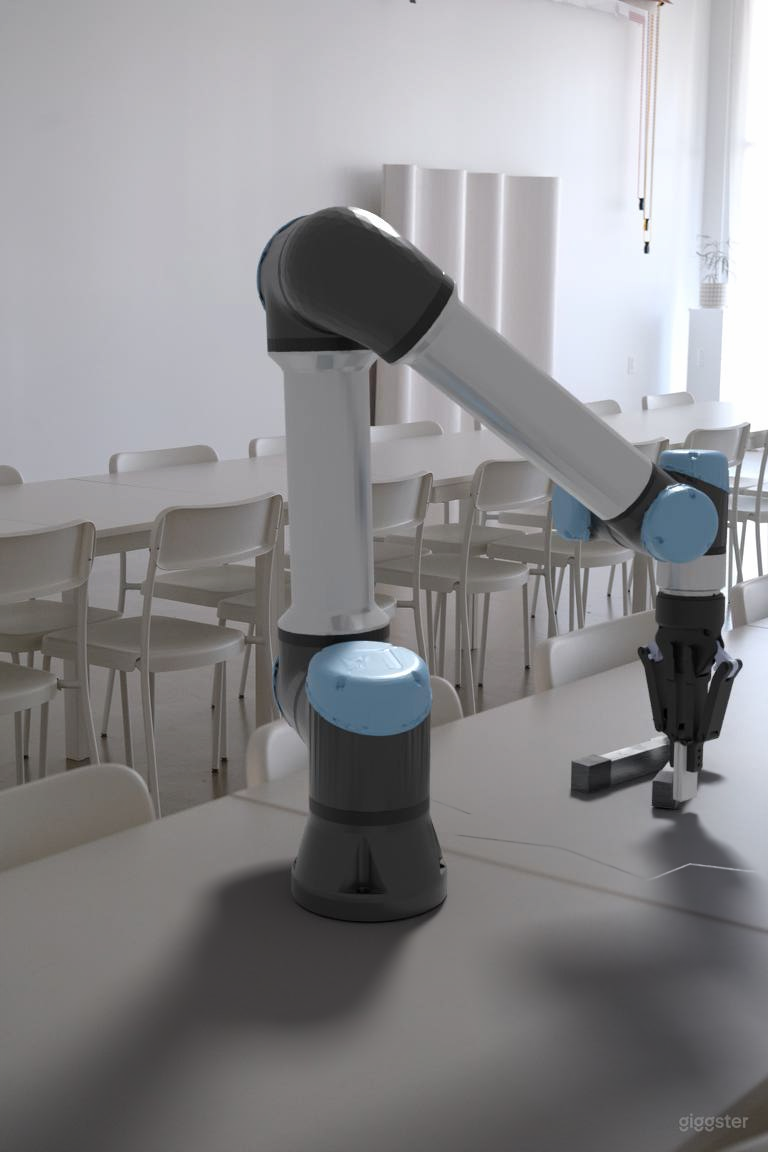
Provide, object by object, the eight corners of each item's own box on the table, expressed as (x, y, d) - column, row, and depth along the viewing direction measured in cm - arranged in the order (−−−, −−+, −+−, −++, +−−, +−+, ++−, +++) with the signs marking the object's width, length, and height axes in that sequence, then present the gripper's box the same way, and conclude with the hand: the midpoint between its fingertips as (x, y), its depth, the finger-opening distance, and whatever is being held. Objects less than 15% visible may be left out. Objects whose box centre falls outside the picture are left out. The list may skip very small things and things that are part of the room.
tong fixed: (662, 758, 175) (663, 732, 175) (693, 767, 172) (694, 741, 171) (569, 787, 164) (569, 760, 164) (600, 797, 161) (601, 770, 160)
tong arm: (669, 758, 174) (670, 733, 174) (707, 763, 173) (708, 737, 172) (633, 803, 158) (634, 775, 157) (675, 809, 156) (676, 781, 155)
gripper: (760, 593, 150) (752, 804, 153) (666, 581, 160) (661, 779, 163) (717, 600, 145) (710, 818, 149) (623, 587, 155) (619, 791, 158)
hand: (684, 797), depth 156 cm, fingers closed
